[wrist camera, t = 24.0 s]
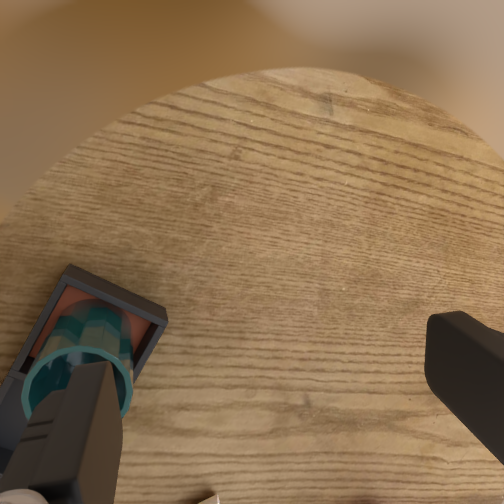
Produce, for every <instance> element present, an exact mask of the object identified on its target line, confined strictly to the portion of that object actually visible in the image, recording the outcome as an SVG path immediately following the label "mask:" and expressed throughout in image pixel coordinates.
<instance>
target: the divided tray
mask: <svg viewBox="0 0 504 504" xmlns="http://www.w3.org/2000/svg"><path fill="white" fill-rule="evenodd" d="M85 299H102V300H104V301H106V302H108V303H110V304H113V305H115V306H117V307H119V308H121V309H122V310H123V311H124V312H125V313H126V315H127V316H128V318H129V320H130V322H131V325H132V330H133V384H134V383H135V381H136V379H137V377H138V376H139V374H140V372H141V370H142V368H143V367H144V365H145V363H146V361H147V360H148V358H149V356H150V354H151V353H152V351H153V349H154V347H155V345H156V344H157V342H158V340H159V338H160V337H161V335H162V333H163V331H164V330H165V328H166V326H167V324H168V317H167V313H166V308H164V307H162V306H160V305H158V304H156V303H153V302H151V301H149V300H147V299H145V298H143V297H141V296H139V295H136V294H134V293H132V292H130V291H128V290H126V289H124V288H121V287H119V286H117V285H115V284H113V283H111V282H109V281H106V280H104V279H102V278H100V277H98V276H96V275H94V274H91V273H89V272H87V271H85V270H83V269H81V268H79V267H76V266H74V265H72V264H69V265H68V267H67V268H66V270H65V271H64V273H63V275H62V276H61V278H60V280H59V282H58V284H57V285H56V287H55V289H54V291H53V293H52V295H51V296H50V298H49V300H48V302H47V304H46V305H45V307H44V309H43V311H42V313H41V315H40V316H39V318H38V320H37V322H36V324H35V325H34V327H33V329H32V331H31V333H30V335H29V336H28V338H27V340H26V342H25V344H24V345H23V347H22V349H21V351H20V353H19V354H18V356H17V358H16V360H15V362H14V364H13V365H12V367H11V369H10V371H9V373H8V375H7V376H6V378H5V380H4V382H3V384H2V385H1V387H0V480H1V478H2V475H3V473H4V471H5V469H6V467H7V465H8V463H9V461H10V459H11V457H12V454H13V452H14V450H15V448H16V446H17V444H18V443H19V442H20V438H21V436H22V433H23V431H24V429H25V428H27V423H28V421H29V420H28V419H27V418H26V416H25V413H24V409H23V405H22V401H21V394H22V389H23V385H24V380H25V377H26V376H27V374H28V372H29V370H30V368H31V366H32V364H33V362H34V360H35V358H36V356H37V354H38V352H39V350H40V348H41V346H42V344H43V342H44V340H45V338H46V336H47V334H48V332H49V330H50V328H51V327H52V325H53V323H54V322H55V320H56V319H57V317H58V316H59V314H60V313H61V312H62V311H63V310H64V309H65V308H67V307H68V306H69V305H71V304H73V303H75V302H78V301H80V300H85Z"/></svg>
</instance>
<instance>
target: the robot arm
mask: <svg viewBox="0 0 504 504" xmlns="http://www.w3.org/2000/svg"><path fill="white" fill-rule="evenodd" d="M424 370H425V377H426V380H427V383H428V385H429V387H430V389H431V390H432V392H433V393H434V394H435V395H436V396H437V397H438V398H439V399H440V400H441V401H442V402H443V403H444V404H445V405H446V406H447V407H448V408H449V410H450V411H451V412H452V413H453V414H454V415H455V416H456V417H457V418H458V419H459V420H460V421H461V422H462V423H463V424H464V425H465V426H466V427H467V428H468V429H469V430H470V431H471V432H472V433H473V434H474V435H475V436H476V437H477V438H478V439H479V440H480V441H481V442H482V443H483V444H484V446H485V447H486V448H487V449H488V450H489V451H490V452H491V453H492V454H493V455H494V456H495V457H496V458H497V459H498V460H499V461H500V462H501V463H502V464H503V465H504V333H502V332H499V331H496V330H494V329H491V328H488V327H487V326H485V325H484V324H482V323H481V322H479V321H477V320H476V319H474V318H473V317H471V316H470V315H468V314H467V313H465V312H463V311H453V312H446V313H439V314H433V315H431V316H430V317H429V319H428V322H427V332H426V349H425V365H424ZM122 441H123V430H122V419H121V413H120V407H119V402H118V396H117V391H116V385H115V379H114V374H113V369H112V365H111V363H110V361H103V362H96V363H89V364H82V365H76V366H75V367H74V370H73V372H72V375H71V377H70V380H69V382H68V385H67V387H66V389H62V390H56V391H51V392H50V393H49V394H48V395H47V396H46V397H45V398H44V399H43V400H42V401H41V402H40V403H39V404H38V405H37V406H36V407H35V408H34V410H33V413H32V415H31V417H30V419H29V421H28V423H27V428H25V429H24V431H23V433H22V436H21V438H20V442H19V443H18V444H17V446H16V448H15V450H14V452H13V454H12V457H11V459H10V461H9V463H8V465H7V467H6V469H5V471H4V473H3V475H2V478H1V480H0V504H113V503H114V497H115V490H116V483H117V477H118V470H119V463H120V457H121V450H122Z"/></svg>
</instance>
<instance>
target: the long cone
mask: <svg viewBox="0 0 504 504" xmlns="http://www.w3.org/2000/svg"><path fill="white" fill-rule="evenodd" d="M198 504H220V502H219V497H218V494H216V495H214V496H212V497H210V498H208V499H206V500H204V501H202V502H200V503H198Z"/></svg>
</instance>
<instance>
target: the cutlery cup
mask: <svg viewBox="0 0 504 504" xmlns="http://www.w3.org/2000/svg"><path fill="white" fill-rule="evenodd" d="M103 361H110V363H111V365H112V369H113V374H114V379H115V385H116V391H117V396H118V402H119V407H120V413H121V419H122V418H123V417H124V415H125V414H126V413H127V411H128V410H129V406H130V402H131V398H132V395H133V330H132V325H131V322H130V320H129V318H128V316H127V315H126V313H125V312H124V311H123V310H122V309H121V308H119V307H117V306H115V305H113V304H110V303H108V302H106V301H104V300H102V299H85V300H80V301H78V302H75V303H73V304H71V305H69V306H68V307H67V308H65V309H64V310H63V311H62V312H61V313H60V314H59V316H58V317H57V319H56V320H55V322H54V323H53V325H52V327H51V328H50V330H49V332H48V334H47V336H46V338H45V340H44V342H43V344H42V346H41V348H40V350H39V352H38V354H37V356H36V358H35V360H34V362H33V364H32V366H31V368H30V370H29V372H28V374H27V376H26V377H25V380H24V385H23V389H22V394H21V401H22V405H23V409H24V413H25V416H26V418H27V419H28V420H29V419H30V417H31V415H32V413H33V410H34V408H35V407H36V406H37V405H38V404H39V403H40V402H41V401H42V400H43V399H44V398H45V397H46V396H47V395H48V394H49V393H50V392H51V391H56V390H62V389H66V387H67V385H68V382H69V380H70V377H71V375H72V372H73V370H74V367H75V366H76V365H82V364H89V363H96V362H103Z"/></svg>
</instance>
